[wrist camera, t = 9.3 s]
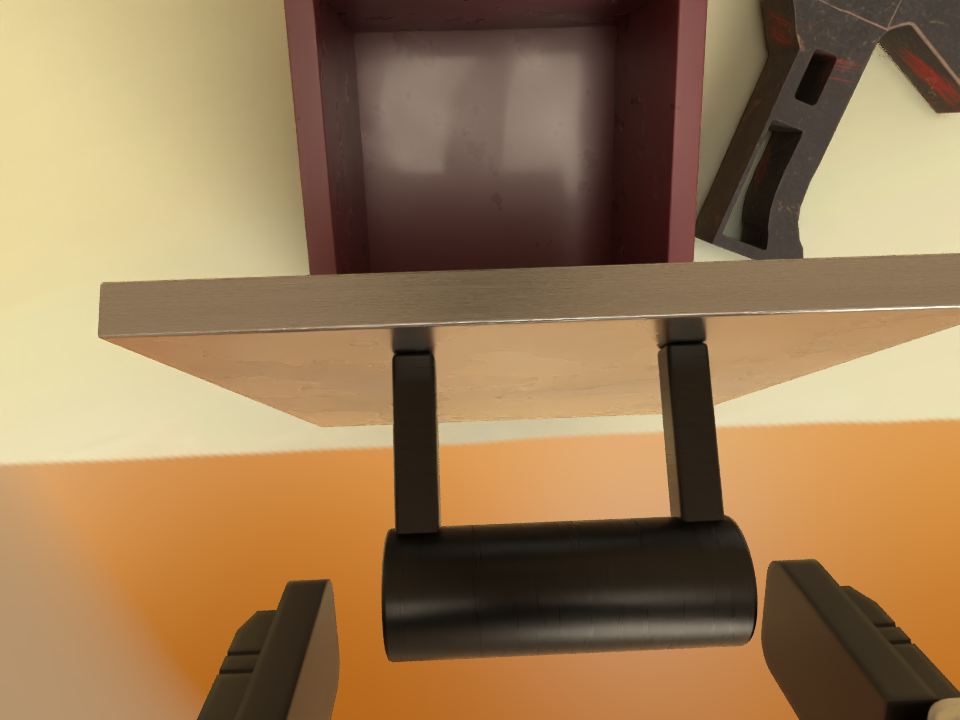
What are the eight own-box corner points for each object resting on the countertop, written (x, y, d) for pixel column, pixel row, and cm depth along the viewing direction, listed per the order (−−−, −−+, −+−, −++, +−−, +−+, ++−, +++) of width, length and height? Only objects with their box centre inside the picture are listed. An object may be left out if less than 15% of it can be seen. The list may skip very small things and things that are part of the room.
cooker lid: (98, 281, 10) (76, 715, 9) (1012, 249, 10) (1085, 668, 9) (320, 403, 25) (320, 572, 24) (689, 389, 25) (704, 555, 24)
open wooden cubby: (333, 13, 31) (278, -48, 21) (633, 6, 31) (711, -58, 21) (359, 339, 35) (322, 411, 25) (623, 329, 35) (686, 396, 25)
